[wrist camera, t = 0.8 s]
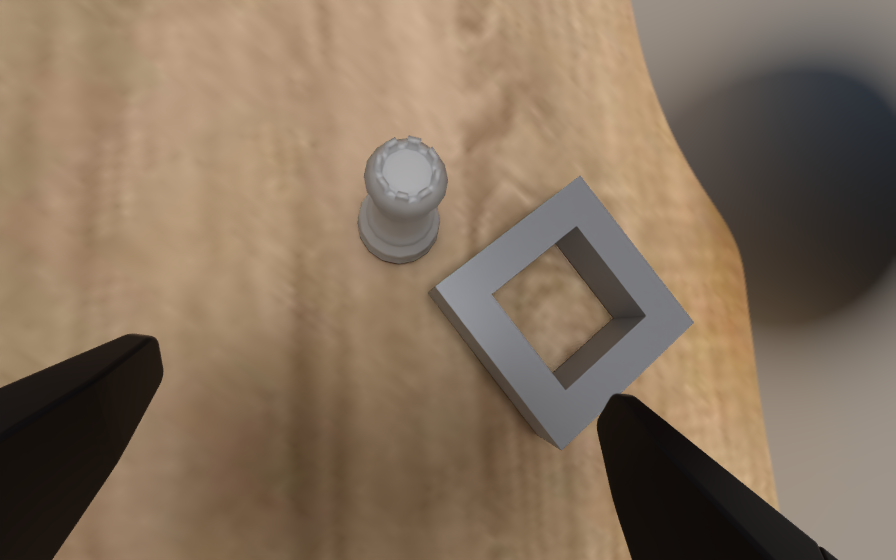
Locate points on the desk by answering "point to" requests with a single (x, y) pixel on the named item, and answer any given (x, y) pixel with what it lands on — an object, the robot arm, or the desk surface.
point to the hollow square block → (610, 278)
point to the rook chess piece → (402, 200)
